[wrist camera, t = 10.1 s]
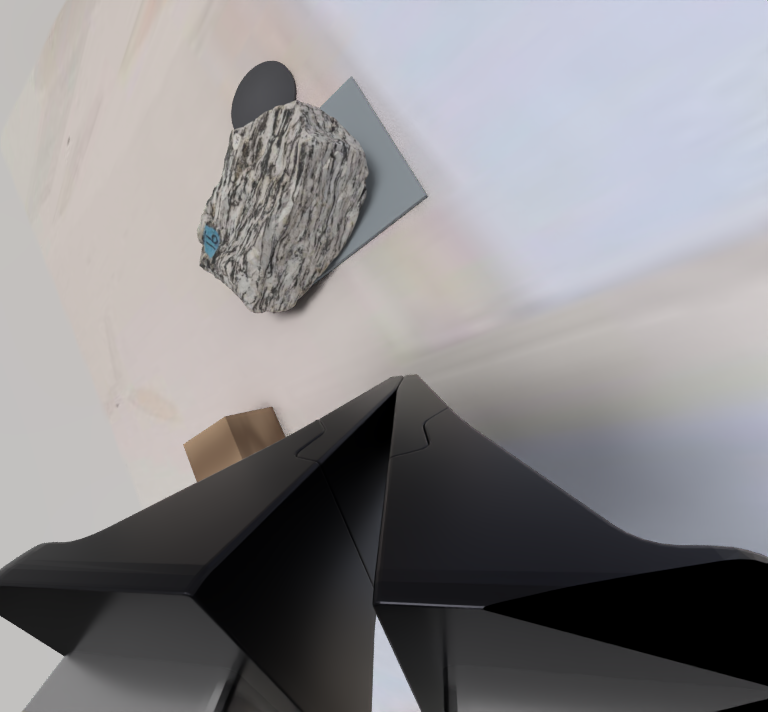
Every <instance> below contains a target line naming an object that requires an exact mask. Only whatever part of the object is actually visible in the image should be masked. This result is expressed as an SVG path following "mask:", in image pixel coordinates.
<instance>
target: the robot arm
mask: <svg viewBox="0 0 768 712" xmlns="http://www.w3.org/2000/svg"><path fill="white" fill-rule="evenodd" d="M376 614H377V617H378V619H379V621H380V623H381V625H382V628H383V630H384V632H385V634H386V636H387V638H388V641H389V643H390V645H391V647H392V649H393V651H394V654H395V656H396V658H397V660H398V662H399V664H400V667H401V669H402V671H403V673H404V675H405V677H406V680H407V682H408V684H409V686H410V688H411V691H412V693H413V695H414V697H415V699H416V701H417V704H418V706H419V708H420V710H421V712H768V557H766V556H764V555H761V554H758V553H755V552H752V551H749V550H745V549H740V548H735V547H724V546H709V545H671V544H661V543H657V542H653V541H649V540H644V539H642V538H639V537H636V536H634V535H631V534H629V533H627V532H625V531H623V530H621V529H620V528H618V527H616V526H615V525H613V524H612V523H610V522H609V521H607V520H606V519H604V518H603V517H601V516H600V515H598V514H597V513H596V512H594V511H593V510H591V509H590V508H588V507H587V506H585V505H584V504H583V503H581V502H580V501H578V500H577V499H575V498H574V497H572V496H571V495H570V494H568V493H567V492H565V491H564V490H562V489H561V488H559V487H558V486H557V485H555V484H554V483H552V482H551V481H549V480H548V479H546V478H545V477H543V476H542V475H541V474H539V473H538V472H536V471H535V470H533V469H532V468H530V467H529V466H528V465H526V464H525V463H523V462H522V461H520V460H519V459H517V458H516V457H515V456H513V455H512V454H510V453H509V452H507V451H506V450H504V449H503V448H502V447H500V446H499V445H497V444H496V443H494V442H493V441H491V440H490V439H488V438H487V437H486V436H484V435H483V434H481V433H480V432H478V431H477V430H475V429H474V428H473V427H471V426H470V425H469V424H467V423H466V422H465V421H463V420H462V419H461V418H460V417H459V416H458V415H457V414H456V413H455V412H454V411H453V410H452V409H451V408H449V407H448V406H447V405H446V403H445V402H444V401H443V400H442V399H441V398H440V397H439V396H438V395H437V394H436V393H435V392H434V391H433V390H432V389H431V388H430V387H429V386H428V385H427V384H426V383H425V382H424V381H423V380H422V379H421V378H420V377H419V376H418V375H417V374H414V375H406V376H405V377H403V376H397V377H391V378H389V379H387V380H386V381H384V382H382V383H380V384H379V385H377V386H375V387H374V388H372V389H370V390H368V391H367V392H365V393H363V394H362V395H360V396H358V397H356V398H355V399H353V400H351V401H350V402H348V403H346V404H344V405H343V406H341V407H339V408H338V409H336V410H334V411H332V412H331V413H329V414H327V415H326V416H324V417H322V418H320V420H316V421H314V422H313V423H311V424H309V425H307V426H306V427H304V428H302V429H300V430H298V431H297V432H295V433H293V434H291V435H289V436H287V437H285V438H284V439H282V440H280V441H278V442H276V443H274V444H272V445H270V446H268V447H266V448H264V449H262V450H260V451H258V452H256V453H254V454H252V455H250V456H248V457H246V458H244V459H242V460H240V461H238V462H236V463H234V464H232V465H231V466H229V467H227V468H225V469H223V470H221V471H219V472H217V473H215V474H213V475H211V476H209V477H207V478H205V479H203V480H201V481H199V482H197V483H195V484H193V485H191V486H189V487H187V488H185V489H183V490H181V491H179V492H177V493H175V494H173V495H171V496H169V497H167V498H165V499H163V500H161V501H159V502H157V503H155V504H154V505H152V506H150V507H148V508H146V509H144V510H142V511H140V512H138V513H136V514H134V515H132V516H130V517H128V518H126V519H124V520H122V521H120V522H118V523H116V524H114V525H112V526H110V527H108V528H106V529H104V530H102V531H100V532H97V533H95V534H93V535H91V536H88V537H85V538H82V539H79V540H75V541H71V542H52V543H43V544H40V545H37V546H36V547H34V548H32V549H30V550H28V551H27V552H25V553H24V554H22V555H20V556H19V557H17V558H16V559H14V560H13V561H11V562H10V563H9V564H7V565H6V566H4V567H3V568H1V570H0V616H1V617H3V618H5V619H6V620H8V621H10V622H11V623H13V624H14V625H16V626H17V627H19V628H21V629H22V630H24V631H25V632H27V633H29V634H30V635H32V636H33V637H35V638H36V639H38V640H40V641H41V642H43V643H44V644H46V645H47V646H49V647H51V648H52V649H54V650H55V651H57V652H59V653H60V654H62V655H63V656H64V658H63V659H62V660H61V662H60V663H59V664H58V666H57V667H56V668H55V670H54V671H53V672H52V673H51V675H50V676H49V677H48V679H47V680H46V681H45V683H44V684H43V685H42V686H41V688H40V689H39V691H38V692H37V693H36V694H35V696H34V697H33V698H32V699H31V701H30V702H29V703H28V705H27V706H26V707H25V708H24V710H23V711H22V712H372V686H373V658H374V632H375V622H376Z"/></svg>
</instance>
